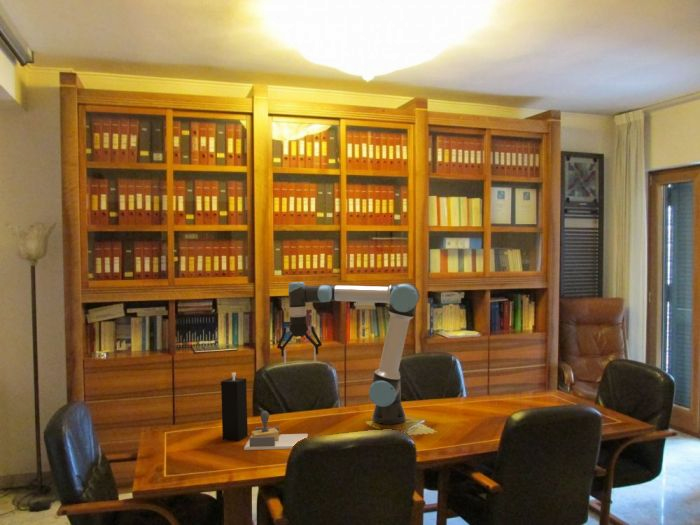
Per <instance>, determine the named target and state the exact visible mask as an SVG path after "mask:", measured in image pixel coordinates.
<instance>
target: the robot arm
mask: <svg viewBox="0 0 700 525" xmlns="http://www.w3.org/2000/svg"><path fill="white" fill-rule="evenodd" d="M420 296H421V294H420V291H419V289H418V288H417V287H416V286H415V285H414V284H413V283H409V282H407V283H406V282H405V283H400V284H390V285H389V286H381V285H380V286H378V285H377V286H375V285H374V286H373V285H351V284H350V285H347V284H346V285H344V284H329V283H327V284H326V283H325V284H319V285H310V286H309V285H306V283H305V282H303V281H300V282H299V281H298V282H297V281H295V282H290V283H289V284H288V302H289V303H288V304H289V306H288V307H289V316H290V317H289V325H290V326H289V327H286V326H284V327H283V332H282V334H281V337H280V339H279V342H278V344H277V346H276V348H277V349H280V353H281V354H280V355H281V357H283V361H284V362H283V364H284V365H286V364H287V349H286V347H287V345H288V344H289V343H290V341H291V340H292V338H293V337H295V338H298V337H299V338H300V337H305V338H306V339H307V340H308V341H309V342H310V343H311V344H312V345H313V346H314V347H313V358H314V360H313V362H314V363H317V355H319V347H322V343H323V342H322V341H321V340H320V338H319V336H318V335H317V332H316V330H315V326H314V325H311V326H308V322H307V304H308V303H309V304H310V303H329V302H353V303H354V302H355V303H357V302H358V303H376V304H378V303H379V304H380V303H381V304H383V303H384V304H388V309H387V310H388V311H387V312H388V314H389V315H390V316H389V320H388V326H387V331H386V335H385V338H384V344H383V349H382V353H381V357H380V361H379V366H378V368H377V369H375V371H374V373H373V377H372V382H371V385H370V386H369V389H368V395H369V396H368V397H369V399H370V401H371V402H372V403H373V404H374V405H375V406H374V409H373V413H372V422H374V421H375V422H374V423H376V422H379V423H378V424H380V423H383V424H382V425H396V424H397V425H398V424H402V423H404V422H405V421H406V412H405V410H404V408H403V405H402V390H401V389H402V387H401V378H402V377H401V372H400V370H399V369H400V365H401V360H402V355H403V352H404V348H405V342H406V339H407V335H408V329H409V325H410V322H411V320H412V319H414V317H415V314H416V309H417V305H418V303H419V301H420V298H421V297H420ZM306 303H307V304H306ZM308 331H310V332H311V333H312V335H313V337H314V338H315V340H316V341H315V340H314V339H313V338H312V337H311V336H310V335H309V334H308V333H307V332H308ZM288 332H290V333H291V334H290V335H289V337H288V338H287V340H286V341H285V342H284V339H285V337H286V334H287V333H288ZM283 342H284V343H283ZM282 343H283V344H282ZM403 421H404V422H403Z"/></svg>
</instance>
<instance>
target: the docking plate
mask: <svg viewBox="0 0 700 525" xmlns="http://www.w3.org/2000/svg"><path fill="white" fill-rule="evenodd" d="M263 428H264V426H260V427H259V426H258V427H257V426H256V427H255V430H254V431H257V430H262V429H263ZM270 428H275V429H276V430H278V432H279V440H276V441H275V436H267V437H252V434H251V435H250V437H249V439H248V440H247V442H246V443H245V446H244V447H243V448H244V449H243V450H244V451H256V450H257V451H260V450H262V451H263V450H264V451H265V450H290V449H291V450H293V449H292V447H293V446H294V445H295V444H296V443H297V442H298V441H300V440H302V439H304V438H307V437H309V433H292V434H291V433H290V434H289V433H288V434H287V433H284V434H280V427H279V426H267V429H270ZM307 439H308V438H307Z"/></svg>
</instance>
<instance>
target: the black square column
mask: <svg viewBox="0 0 700 525" xmlns="http://www.w3.org/2000/svg"><path fill="white" fill-rule="evenodd" d="M236 375H237V372H234V371H233V372H231V377H230V378H226V379H224V380H222V381H220V388H221V389H220V390H221V394H220V395H221V396H220V397H221V422H222V424H221V426H222V428H221V429H222V430H221V431H222V432H221V433H222V441H223V440H224V441H232V442H240V441H241V440H243V439H244V438H246V437H248V436H249V435H248V430H249V429H248V427H249V426H248V399H247V398H248V396H247V393H248V392H247V390H248V389H247V378H245V377H244V378H242V377H240V378H239V377H236Z"/></svg>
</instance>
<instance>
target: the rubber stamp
mask: <svg viewBox="0 0 700 525" xmlns="http://www.w3.org/2000/svg"><path fill="white" fill-rule="evenodd" d="M269 419H270V413H269V412H268V411H267V410H263V411H261V413H260V420H261V423H262V425H263V426H262V427H264V428H263V429H262V430H257V431H255V430H252V431H251V435H252V437H267V436H275V441H276V440H279V434H280V431H279V432H278V430H276V429H275V428H270V429H267V427H268V426H267V424H268V421H269Z"/></svg>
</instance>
